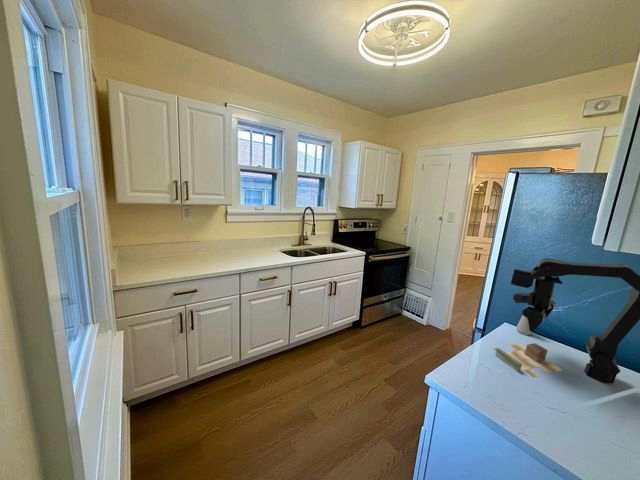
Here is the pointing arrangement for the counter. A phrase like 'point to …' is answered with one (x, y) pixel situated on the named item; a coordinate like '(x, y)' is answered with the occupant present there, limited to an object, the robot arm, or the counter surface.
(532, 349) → the walnut block
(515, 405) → the counter surface
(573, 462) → the counter surface
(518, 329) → the salt shaker
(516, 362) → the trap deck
